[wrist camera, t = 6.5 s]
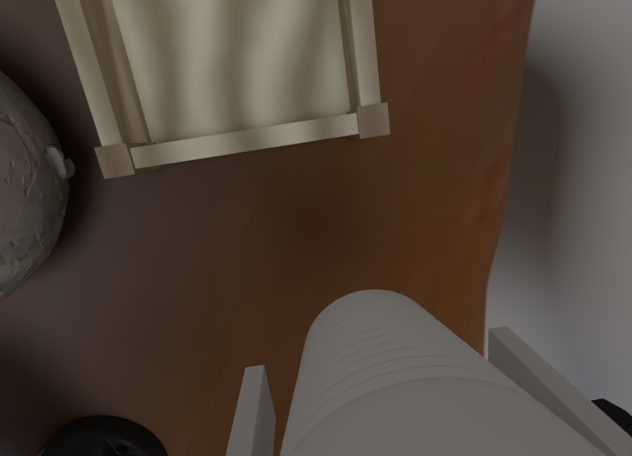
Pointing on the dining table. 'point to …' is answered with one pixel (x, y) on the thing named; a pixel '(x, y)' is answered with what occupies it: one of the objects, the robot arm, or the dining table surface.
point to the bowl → (28, 187)
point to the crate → (222, 76)
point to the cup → (410, 391)
